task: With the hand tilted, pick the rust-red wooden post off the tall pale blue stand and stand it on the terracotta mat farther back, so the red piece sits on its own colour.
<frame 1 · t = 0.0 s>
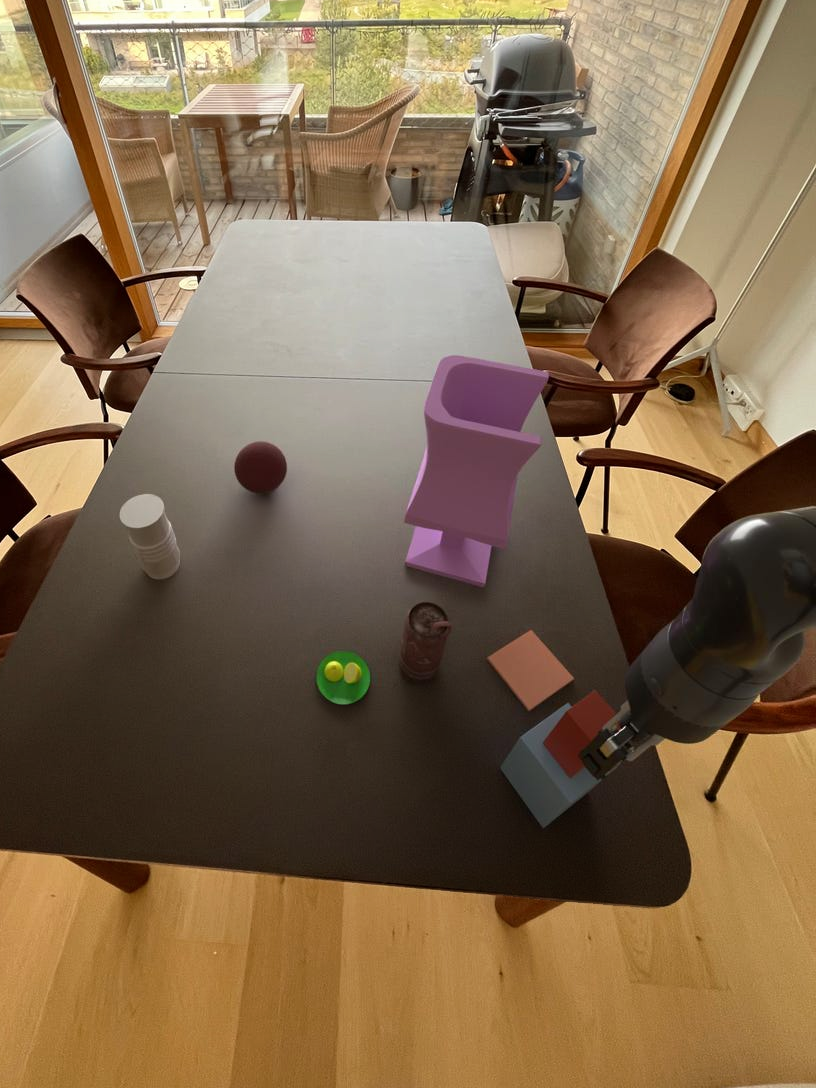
hand: (621, 744, 58), 22 cm above the table, tool pointing down, fingers open, 8 cm apart
blue stand: (543, 780, 75), on the table
decorative ball: (263, 485, 112), on the table
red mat: (529, 669, 86), on the table
white ridged cylinder: (163, 565, 99), on the table
red post: (569, 750, 67), point 12 cm above the table, touching blue stand
brown drink cup: (418, 665, 87), on the table
green plate with lemons: (343, 679, 85), on the table
vase: (450, 545, 102), on the table
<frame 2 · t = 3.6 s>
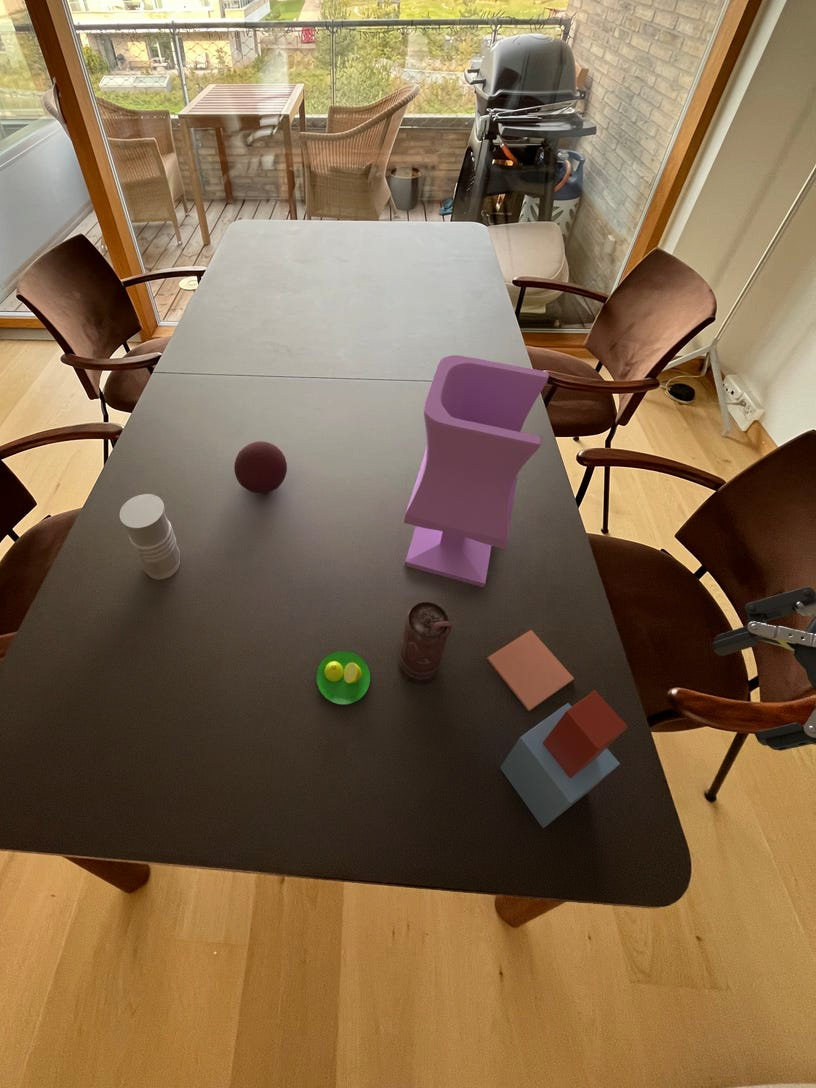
hand: (735, 692, 55), 29 cm above the table, tool tilted 45°, fingers open, 8 cm apart
nothing on the table moved.
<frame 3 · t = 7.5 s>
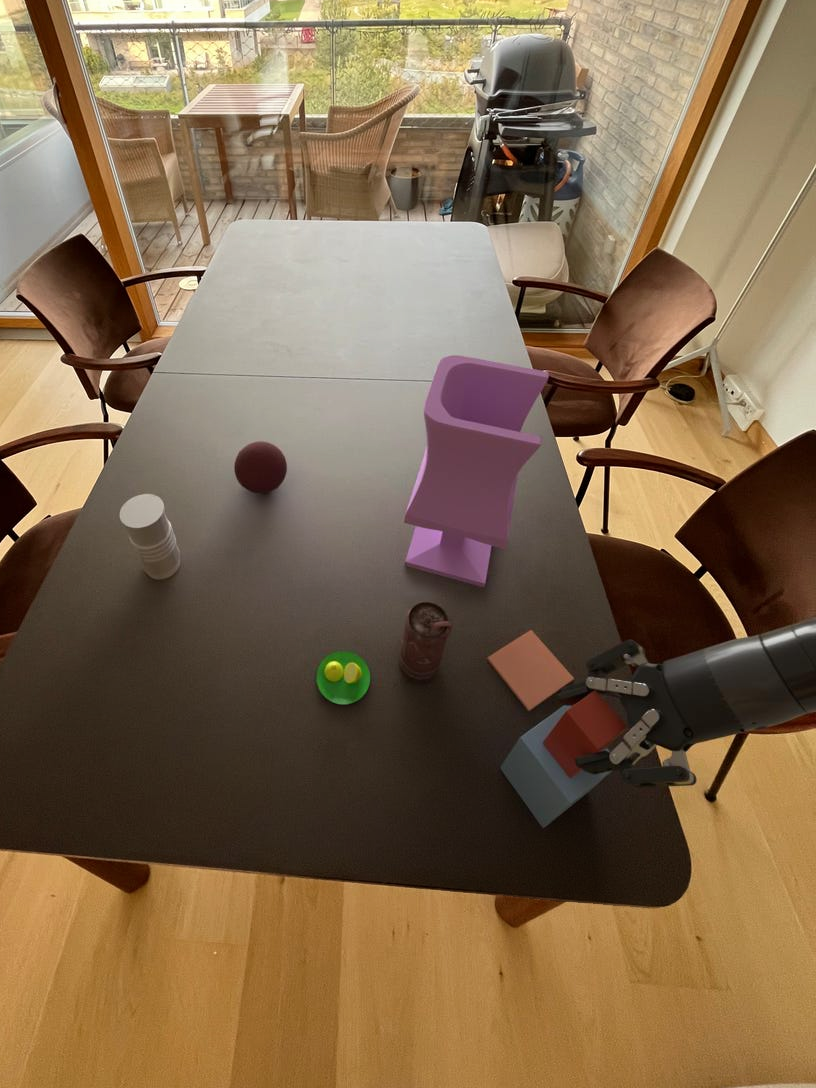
hand: (570, 731, 62), 18 cm above the table, tool tilted 45°, fingers closed on red post, 6 cm apart
red post: (569, 750, 67), point 12 cm above the table, touching blue stand, gripper
everything else where it was.
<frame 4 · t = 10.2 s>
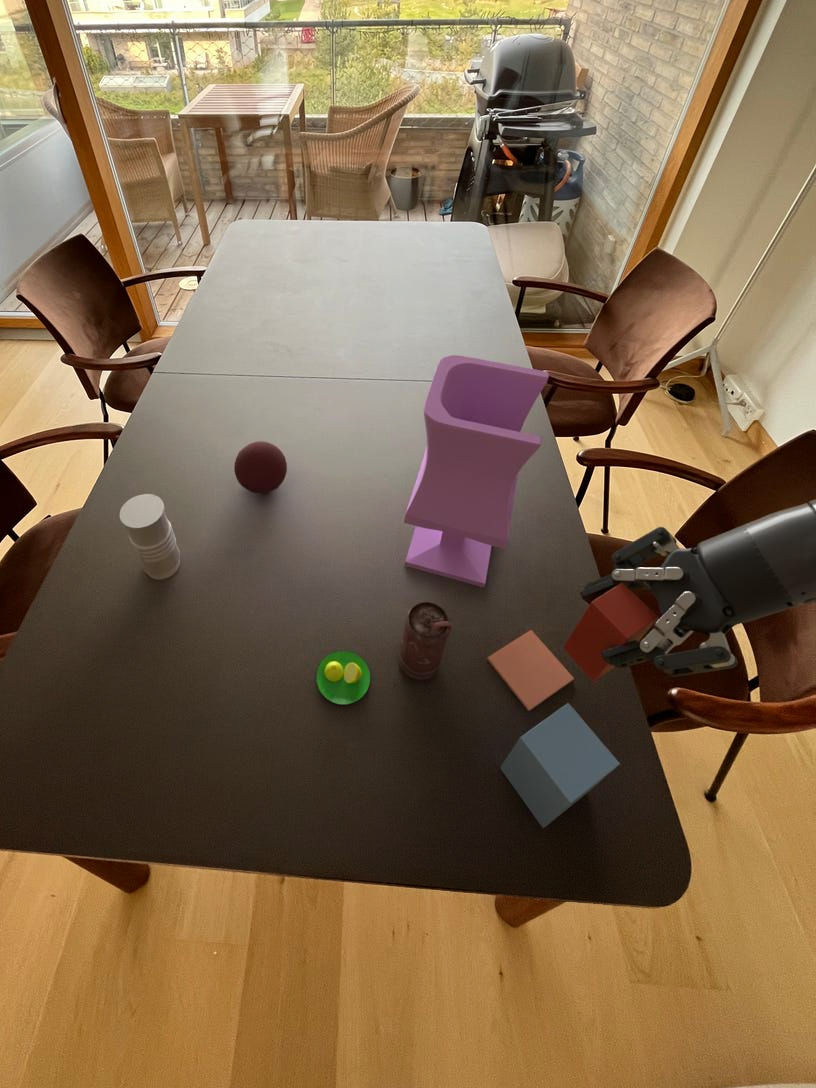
hand: (595, 627, 58), 31 cm above the table, tool tilted 45°, fingers closed on red post, 6 cm apart
red post: (592, 654, 62), point 24 cm above the table, touching gripper
everything else where it was.
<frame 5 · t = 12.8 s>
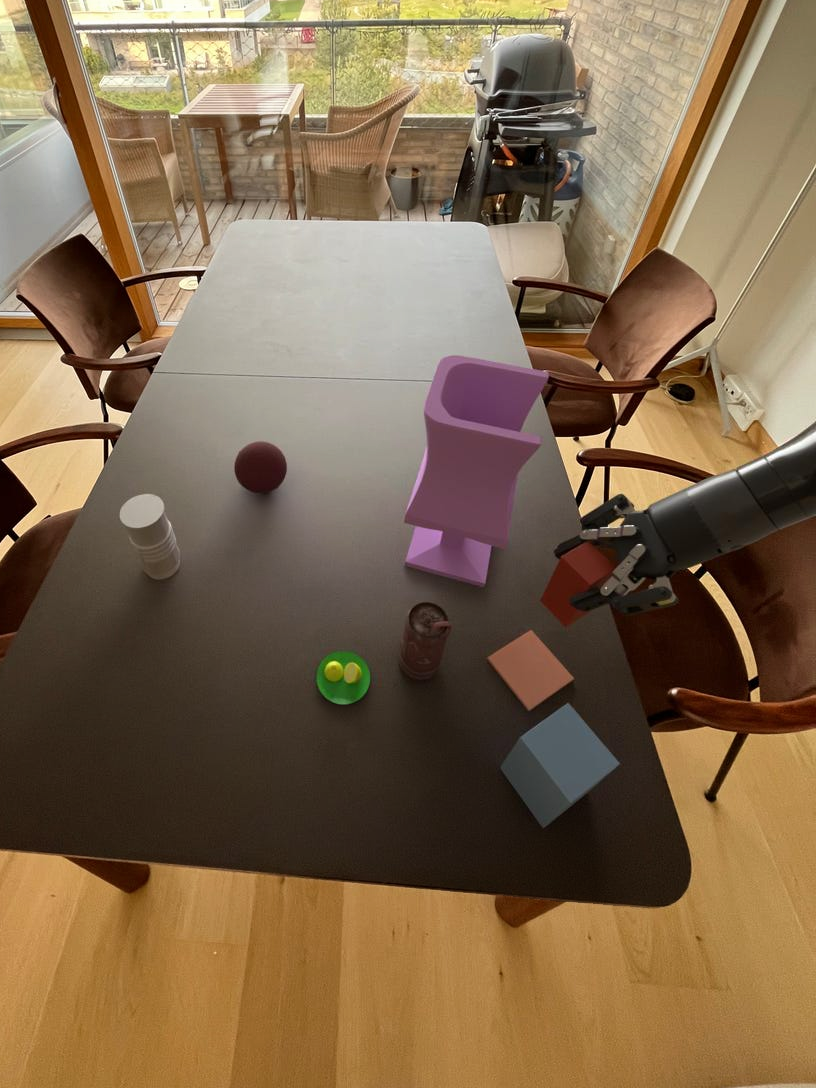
hand: (565, 579, 68), 25 cm above the table, tool tilted 45°, fingers closed on red post, 6 cm apart
red post: (564, 606, 73), point 19 cm above the table, touching gripper
everything else where it was.
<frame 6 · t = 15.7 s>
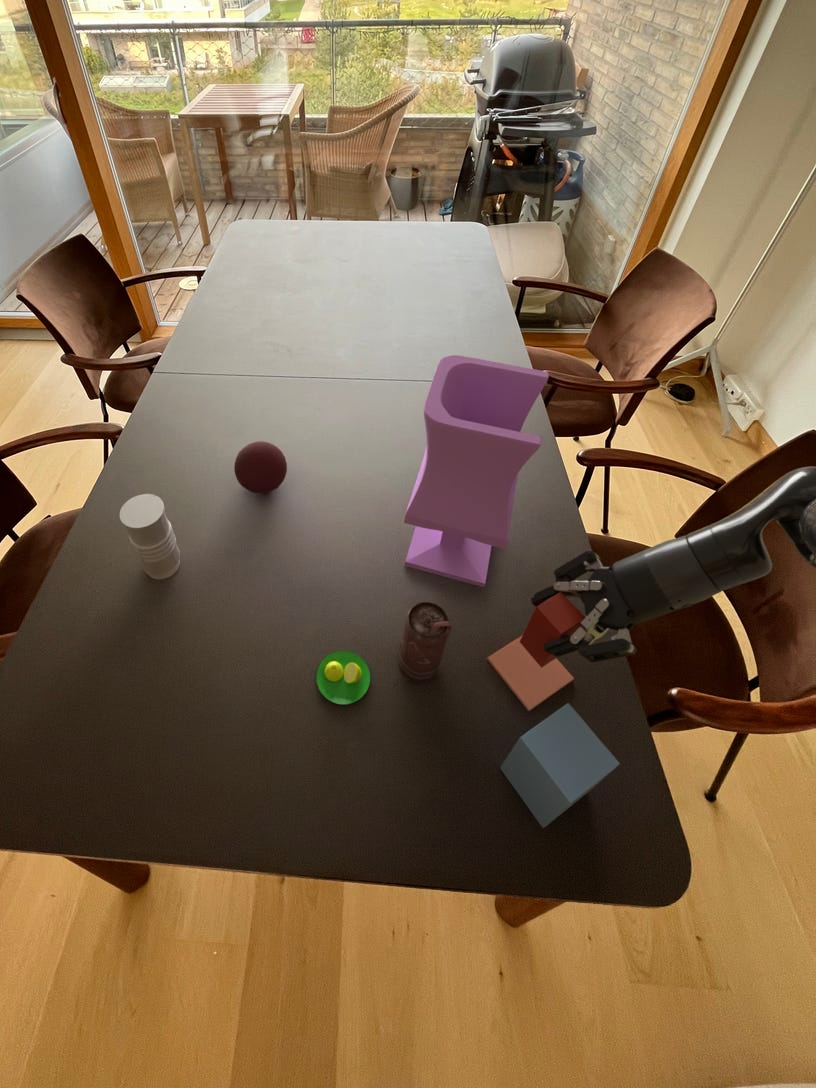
hand: (540, 626, 76), 14 cm above the table, tool tilted 45°, fingers closed on red post, 6 cm apart
red post: (541, 647, 81), point 7 cm above the table, touching gripper
everything else where it was.
when the fingers open (7 cm above the table, at t = 18.1 s): red post stays where it is, resting on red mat.
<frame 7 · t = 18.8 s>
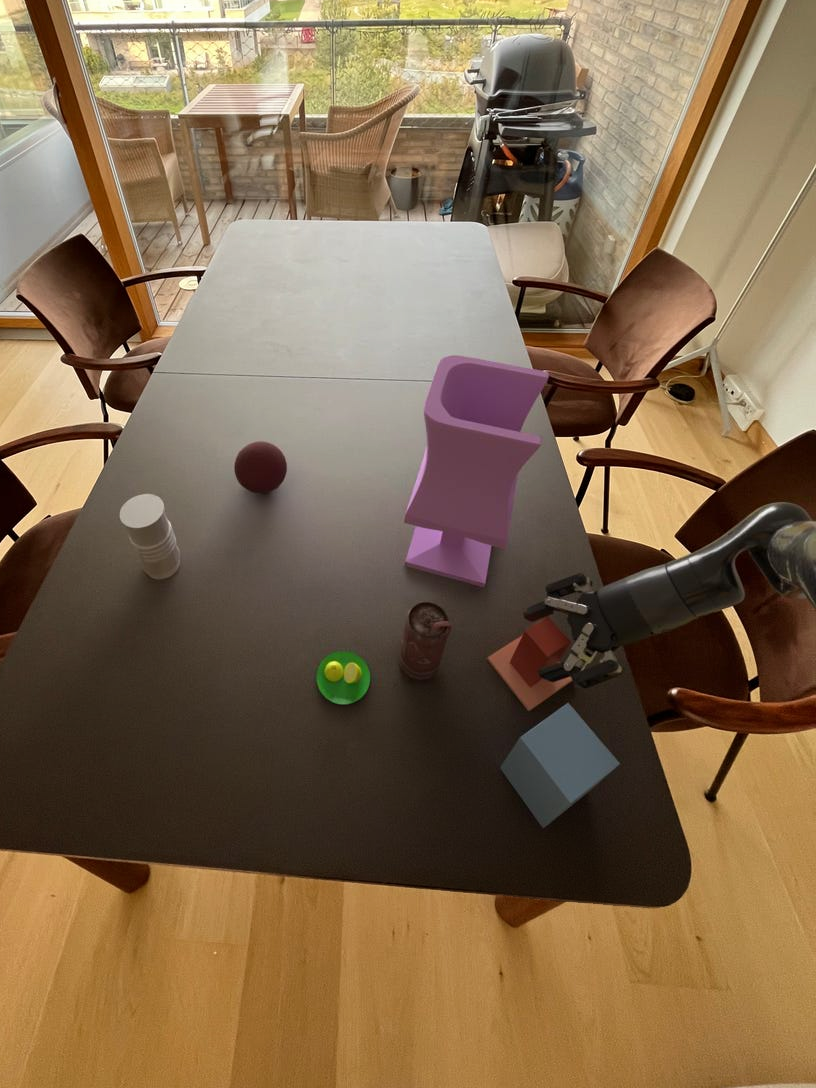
hand: (533, 645, 80), 8 cm above the table, tool tilted 45°, fingers open, 8 cm apart
red post: (530, 667, 86), point 1 cm above the table, touching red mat
everything else where it was.
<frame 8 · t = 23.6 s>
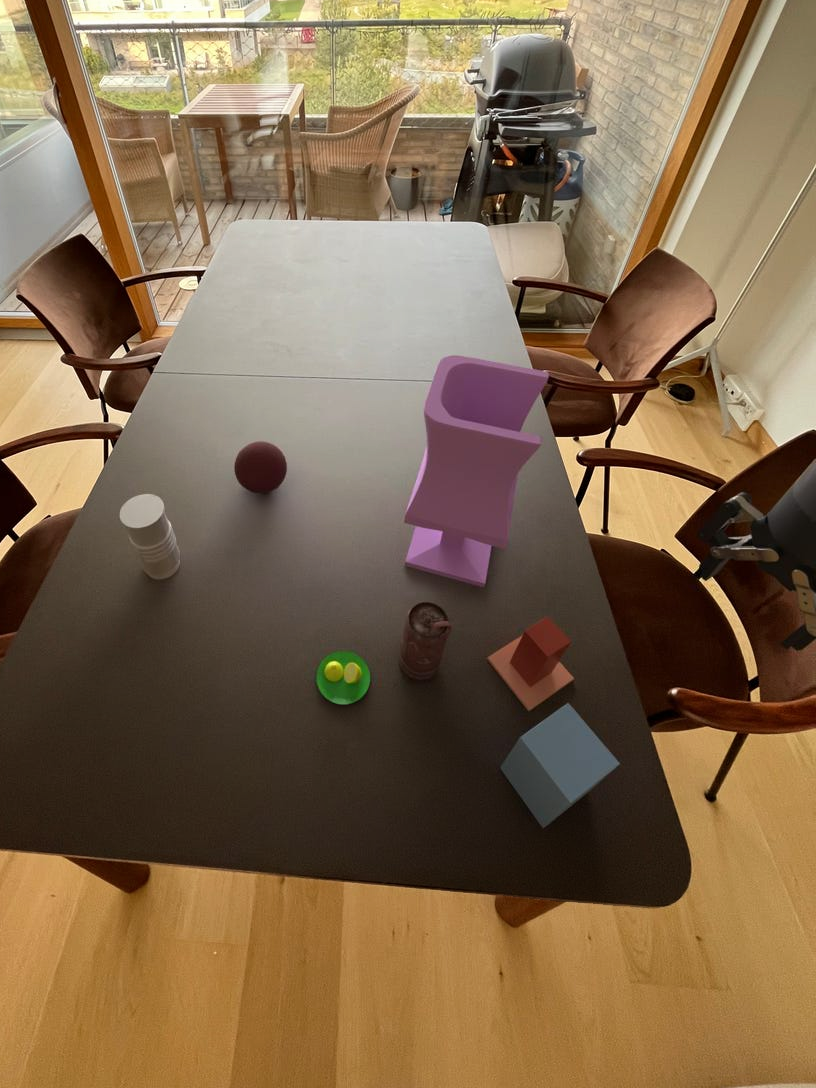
hand: (746, 607, 57), 33 cm above the table, tool pointing down, fingers open, 8 cm apart
nothing on the table moved.
at the end: red post 0.1 cm off-centre on the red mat, point 0.6 cm above the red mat's base; red post tilted 0°; the gripper is holding nothing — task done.
